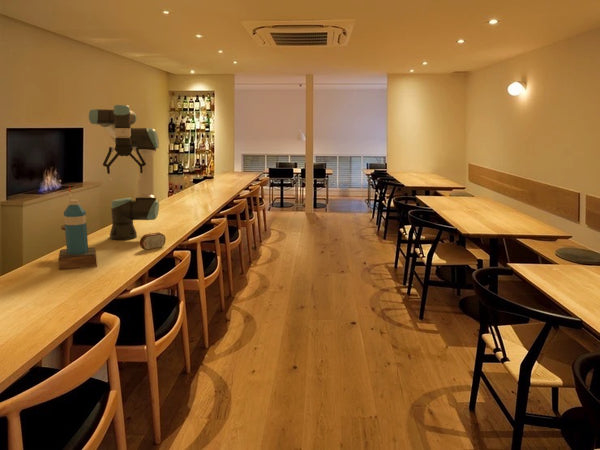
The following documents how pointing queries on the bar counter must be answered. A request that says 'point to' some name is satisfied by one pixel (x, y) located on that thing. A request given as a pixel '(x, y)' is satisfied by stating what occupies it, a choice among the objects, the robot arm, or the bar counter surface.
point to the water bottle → (75, 228)
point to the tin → (152, 241)
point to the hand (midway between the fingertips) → (125, 180)
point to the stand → (77, 259)
